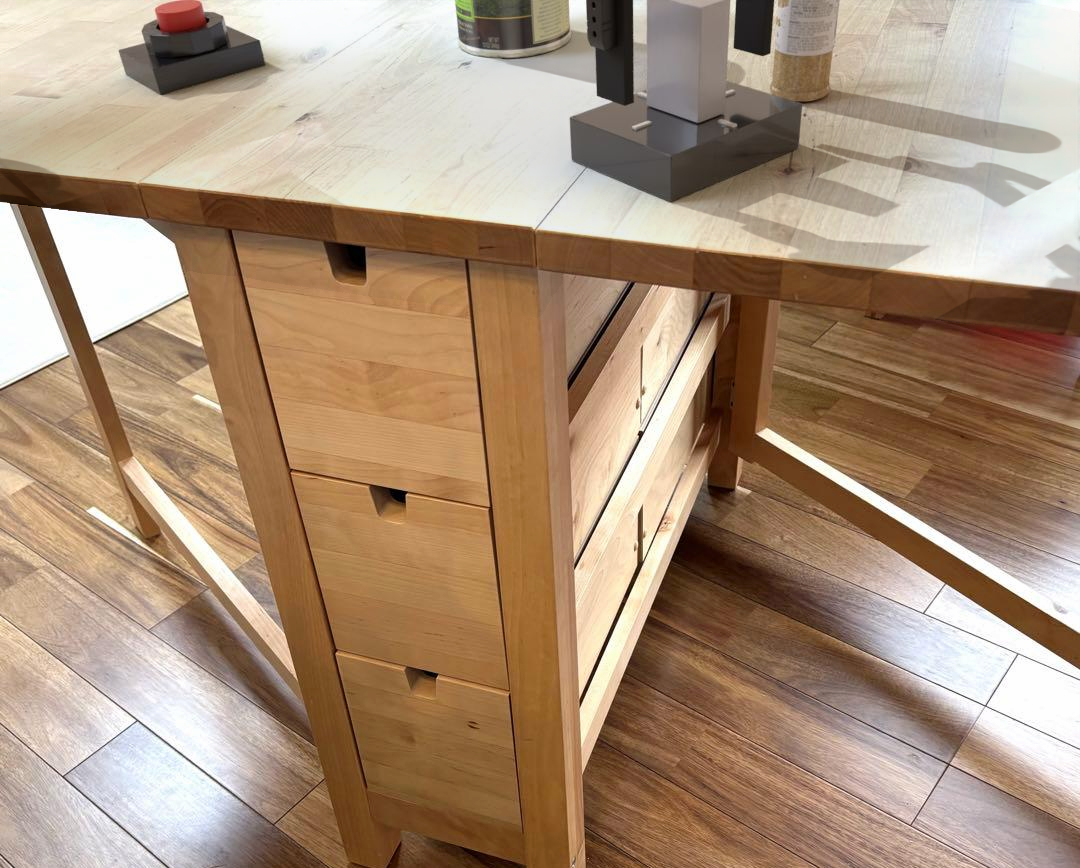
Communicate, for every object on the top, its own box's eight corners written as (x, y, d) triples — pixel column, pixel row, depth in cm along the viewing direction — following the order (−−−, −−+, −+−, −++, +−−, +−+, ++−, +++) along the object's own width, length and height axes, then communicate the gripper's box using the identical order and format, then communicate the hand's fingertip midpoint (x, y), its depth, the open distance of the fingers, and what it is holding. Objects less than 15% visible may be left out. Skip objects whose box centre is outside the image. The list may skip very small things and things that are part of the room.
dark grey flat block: (670, 202, 67) (671, 153, 65) (571, 160, 73) (568, 114, 71) (798, 148, 72) (803, 101, 70) (695, 113, 78) (697, 68, 76)
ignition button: (171, 37, 89) (165, 15, 88) (153, 29, 92) (147, 7, 91) (214, 26, 91) (209, 4, 90) (195, 18, 94) (190, -4, 92)
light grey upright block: (725, 113, 69) (731, -7, 65) (697, 123, 68) (701, 3, 63) (673, 96, 72) (675, -20, 68) (646, 105, 71) (646, -11, 67)
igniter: (160, 96, 89) (146, 46, 87) (126, 75, 94) (111, 28, 92) (266, 66, 94) (254, 17, 91) (227, 48, 98) (215, 1, 96)
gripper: (798, -375, 62) (769, 20, 76) (467, -339, 52) (506, 110, 66) (903, -382, 57) (851, 41, 72) (563, -343, 47) (582, 140, 61)
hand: (686, 74), depth 69 cm, fingers open, 12 cm apart
